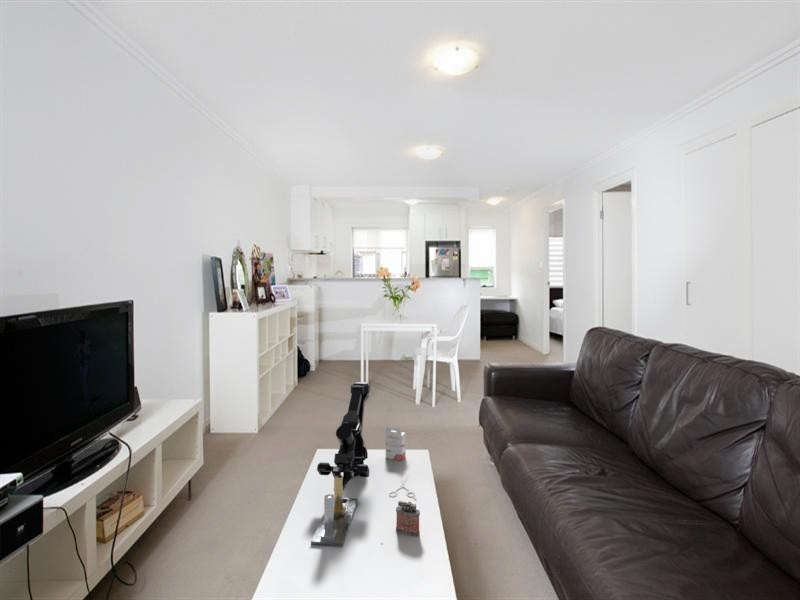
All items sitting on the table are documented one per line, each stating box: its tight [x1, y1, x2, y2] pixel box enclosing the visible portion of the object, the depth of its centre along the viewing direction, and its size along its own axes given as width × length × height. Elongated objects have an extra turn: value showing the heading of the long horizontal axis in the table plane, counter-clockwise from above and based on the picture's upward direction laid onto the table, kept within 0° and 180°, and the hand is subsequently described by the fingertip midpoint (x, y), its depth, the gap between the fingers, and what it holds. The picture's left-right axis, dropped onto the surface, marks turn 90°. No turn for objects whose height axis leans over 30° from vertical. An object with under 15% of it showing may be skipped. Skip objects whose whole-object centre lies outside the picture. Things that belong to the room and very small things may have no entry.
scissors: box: [388, 474, 417, 501], centre depth 157 cm, size 11×1×20 cm
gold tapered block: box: [333, 474, 346, 515], centre depth 135 cm, size 4×4×12 cm
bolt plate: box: [310, 493, 359, 548], centre depth 133 cm, size 25×10×14 cm, turn 175°
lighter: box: [395, 500, 421, 538], centre depth 127 cm, size 8×3×10 cm, turn 71°
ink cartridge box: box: [385, 426, 406, 461], centre depth 182 cm, size 9×5×15 cm, turn 68°
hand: (339, 494), depth 137 cm, fingers closed, pressing on gold tapered block
